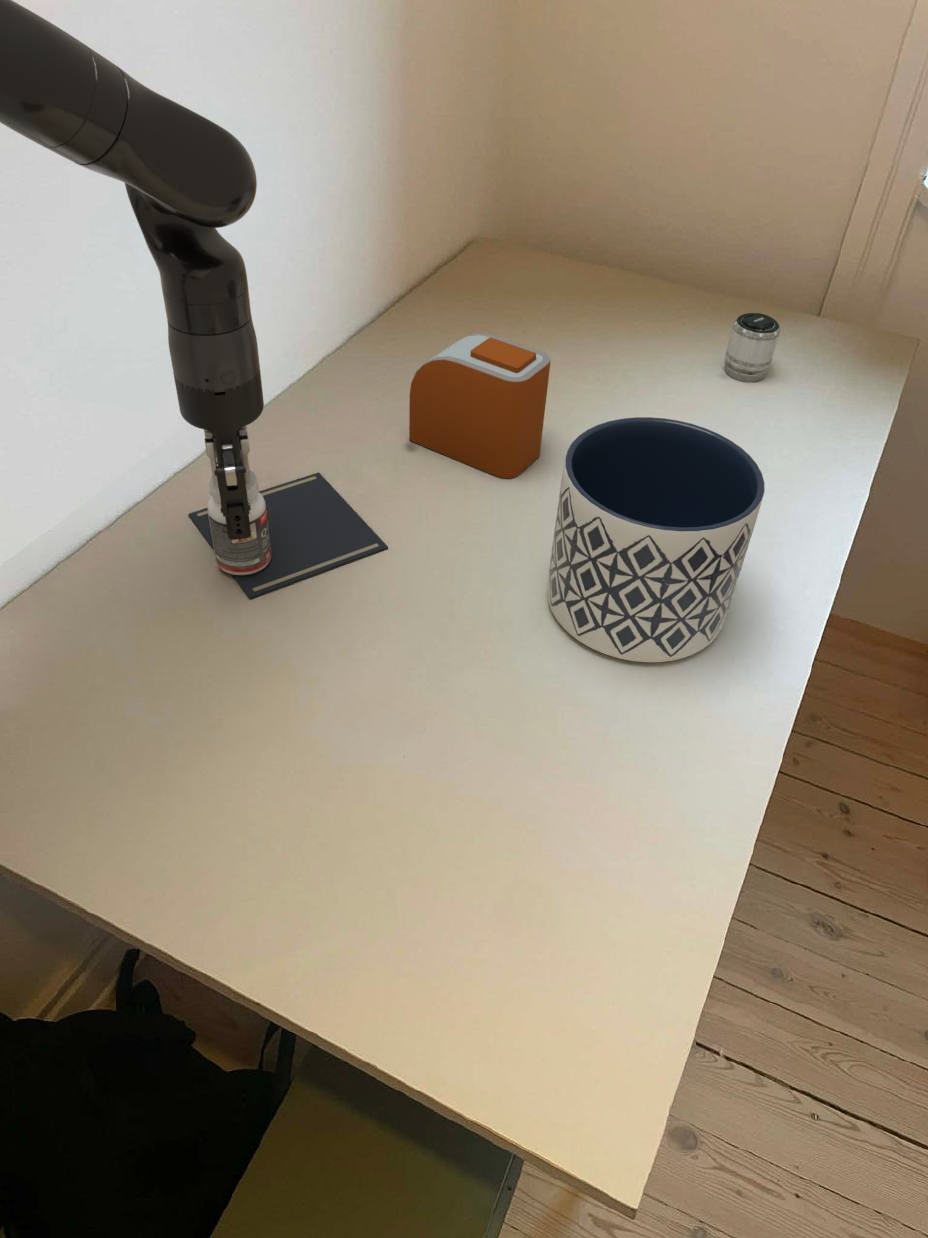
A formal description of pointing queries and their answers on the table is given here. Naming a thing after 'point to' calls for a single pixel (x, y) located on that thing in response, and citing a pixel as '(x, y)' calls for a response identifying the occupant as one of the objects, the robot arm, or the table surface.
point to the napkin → (303, 534)
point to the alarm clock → (482, 404)
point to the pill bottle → (241, 552)
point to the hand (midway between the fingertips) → (237, 517)
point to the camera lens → (751, 346)
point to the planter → (651, 536)
